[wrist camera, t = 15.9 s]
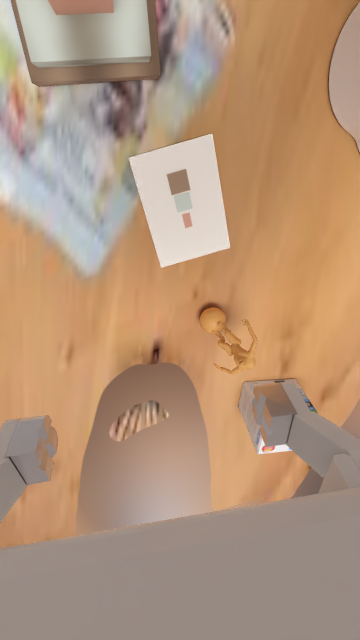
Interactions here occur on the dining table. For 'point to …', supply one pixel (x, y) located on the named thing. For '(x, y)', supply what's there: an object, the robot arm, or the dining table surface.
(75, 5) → the tall brick
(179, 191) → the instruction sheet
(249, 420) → the light bulb box
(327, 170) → the dining table surface
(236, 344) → the figurine
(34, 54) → the brick base
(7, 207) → the dining table surface
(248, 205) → the dining table surface
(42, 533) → the dining table surface
